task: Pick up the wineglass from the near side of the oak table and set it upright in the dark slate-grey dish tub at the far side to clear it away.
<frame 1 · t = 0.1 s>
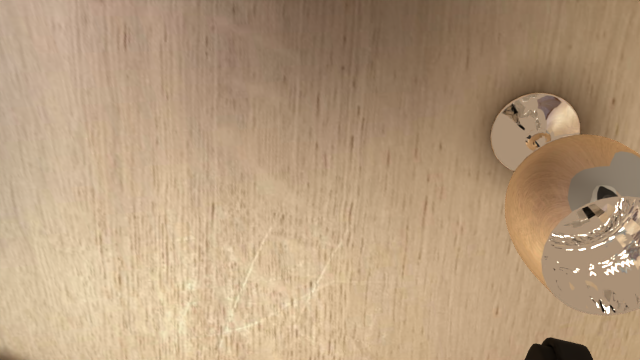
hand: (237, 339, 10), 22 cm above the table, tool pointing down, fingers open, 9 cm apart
wineglass: (533, 133, 31), on the table
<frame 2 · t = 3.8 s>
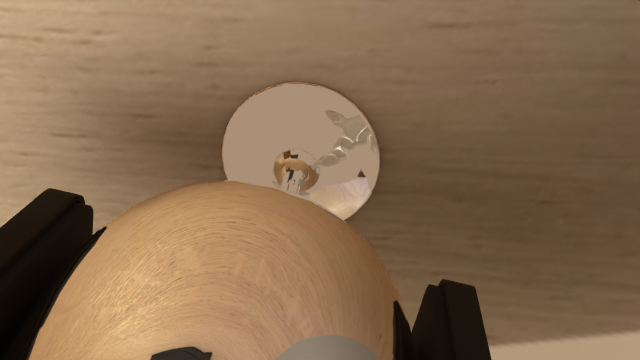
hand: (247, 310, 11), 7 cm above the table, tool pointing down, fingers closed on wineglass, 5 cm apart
wineglass: (301, 156, 17), on the table, touching gripper
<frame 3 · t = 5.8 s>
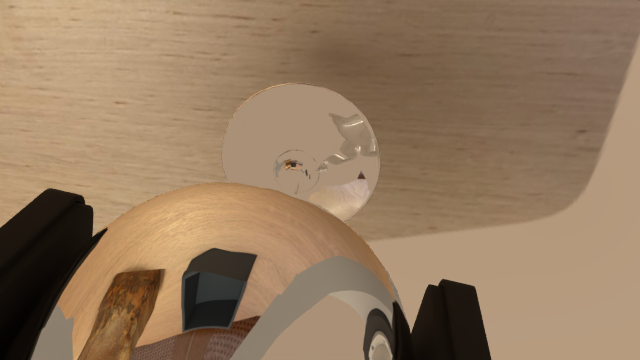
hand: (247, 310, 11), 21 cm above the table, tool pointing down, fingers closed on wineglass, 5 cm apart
wineglass: (301, 157, 17), point 14 cm above the table, touching gripper
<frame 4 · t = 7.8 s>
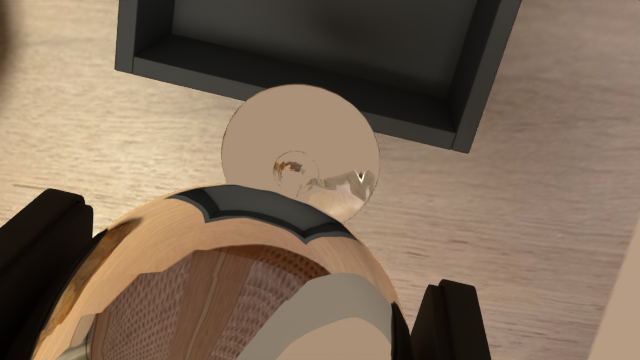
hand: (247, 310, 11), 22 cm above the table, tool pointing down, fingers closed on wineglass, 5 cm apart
wineglass: (300, 158, 17), point 15 cm above the table, touching gripper
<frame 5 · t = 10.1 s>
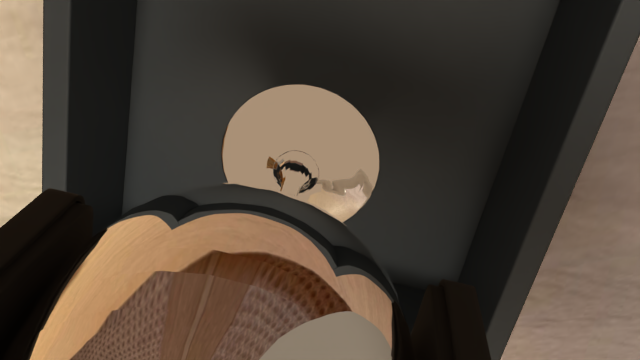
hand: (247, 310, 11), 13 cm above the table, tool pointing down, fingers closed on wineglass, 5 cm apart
dish tub: (322, 93, 23), on the table
wineglass: (300, 158, 17), point 6 cm above the table, touching gripper
when the fingers open (8 cm above the table, at t = 11.9 s): wineglass stays where it is, resting on dish tub.
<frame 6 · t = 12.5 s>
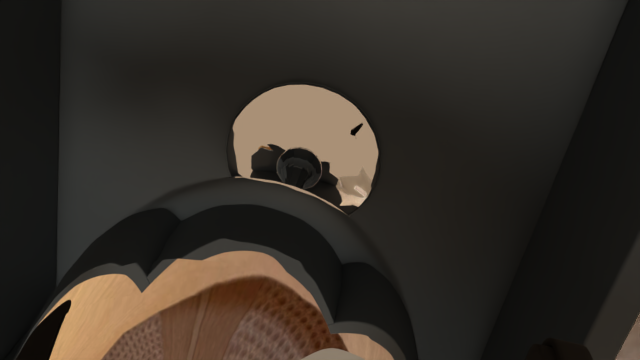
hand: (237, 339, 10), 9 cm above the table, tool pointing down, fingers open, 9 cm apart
dish tub: (302, 145, 18), on the table
wineglass: (303, 155, 17), resting on dish tub
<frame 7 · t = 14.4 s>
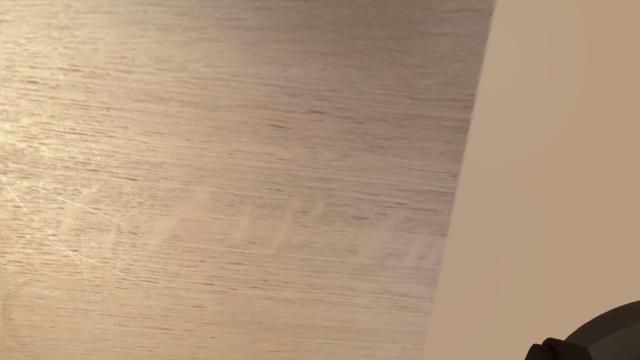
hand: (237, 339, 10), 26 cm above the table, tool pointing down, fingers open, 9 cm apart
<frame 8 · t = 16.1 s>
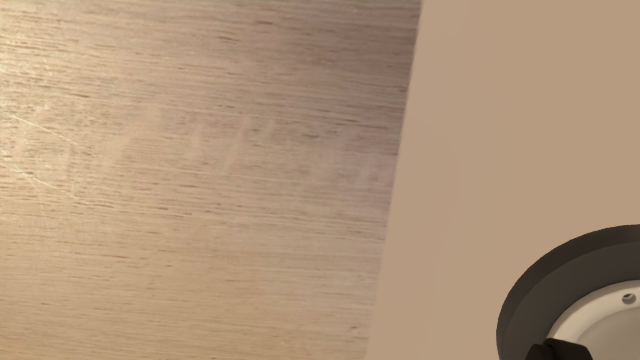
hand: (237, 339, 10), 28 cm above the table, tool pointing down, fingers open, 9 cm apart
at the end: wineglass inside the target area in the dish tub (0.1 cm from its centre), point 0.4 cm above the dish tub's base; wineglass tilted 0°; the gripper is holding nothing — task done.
